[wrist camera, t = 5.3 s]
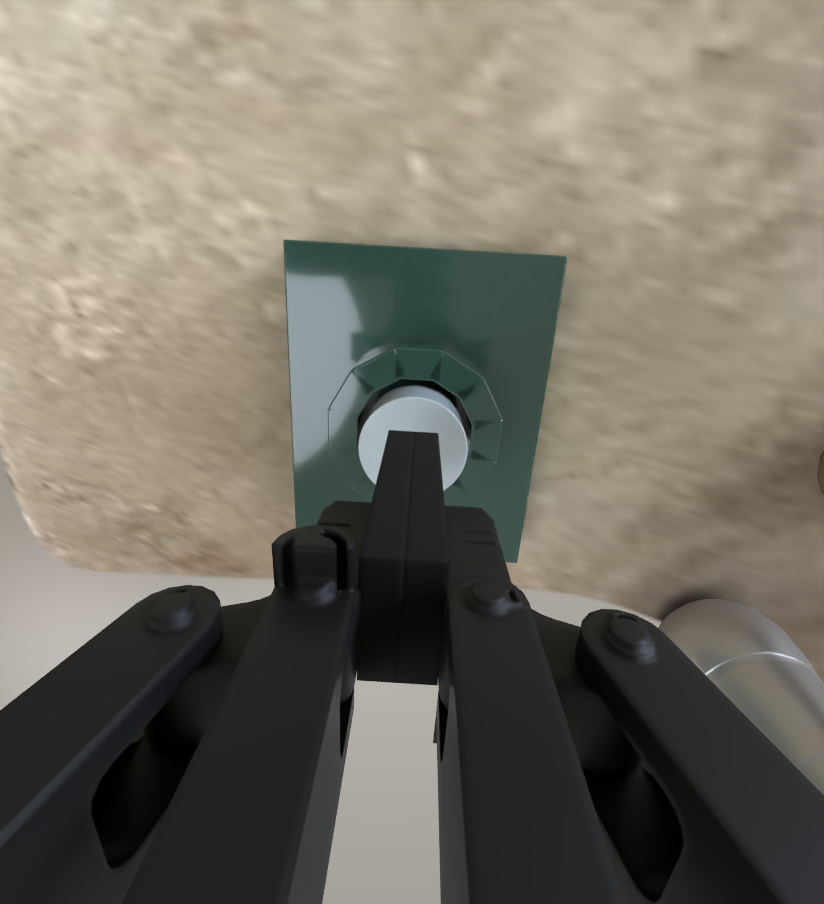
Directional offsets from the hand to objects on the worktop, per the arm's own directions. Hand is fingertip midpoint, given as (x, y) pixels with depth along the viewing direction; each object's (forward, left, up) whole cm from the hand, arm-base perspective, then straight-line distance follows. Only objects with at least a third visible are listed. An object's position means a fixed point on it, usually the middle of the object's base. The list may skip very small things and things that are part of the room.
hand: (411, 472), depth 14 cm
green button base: (0, 0, -8) cm, 8 cm away
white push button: (0, 0, -5) cm, 5 cm away
